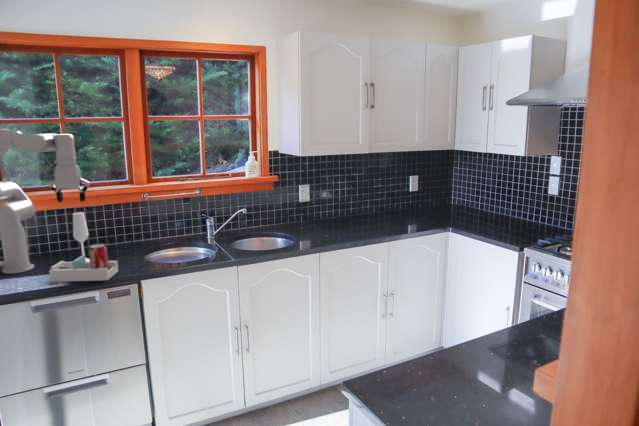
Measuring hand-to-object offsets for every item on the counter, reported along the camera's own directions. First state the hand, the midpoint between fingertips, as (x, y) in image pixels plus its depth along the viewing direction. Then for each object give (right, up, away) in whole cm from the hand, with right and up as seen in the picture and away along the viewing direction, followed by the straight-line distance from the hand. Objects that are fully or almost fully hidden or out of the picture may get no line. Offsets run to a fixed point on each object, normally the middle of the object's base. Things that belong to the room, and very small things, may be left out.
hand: (71, 201), depth 206 cm
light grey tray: (+7, -33, -1) cm, 34 cm away
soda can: (+13, -32, -1) cm, 35 cm away
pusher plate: (+5, -32, -2) cm, 32 cm away
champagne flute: (-5, -29, +21) cm, 36 cm away
